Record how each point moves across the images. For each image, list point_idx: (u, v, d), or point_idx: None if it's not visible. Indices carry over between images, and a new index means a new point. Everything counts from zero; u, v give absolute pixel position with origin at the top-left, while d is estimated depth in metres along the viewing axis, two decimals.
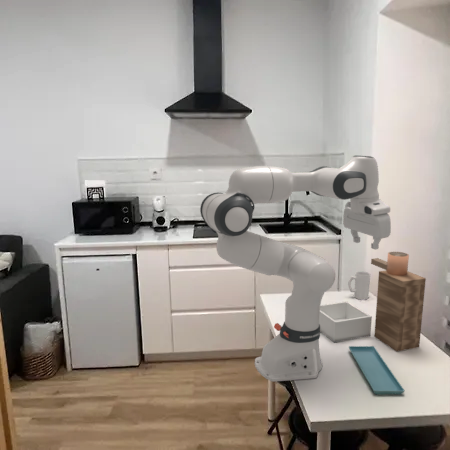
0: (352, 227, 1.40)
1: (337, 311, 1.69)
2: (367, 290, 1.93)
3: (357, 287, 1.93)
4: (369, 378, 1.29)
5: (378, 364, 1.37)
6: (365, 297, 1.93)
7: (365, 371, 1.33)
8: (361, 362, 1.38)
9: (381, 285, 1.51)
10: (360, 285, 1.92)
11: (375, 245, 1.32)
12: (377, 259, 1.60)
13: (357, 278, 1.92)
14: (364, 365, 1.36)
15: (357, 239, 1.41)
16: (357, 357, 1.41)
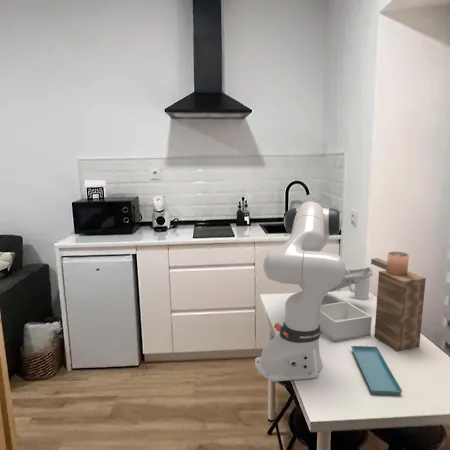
0: None
1: (337, 311, 1.69)
2: (367, 290, 1.93)
3: (357, 287, 1.93)
4: (368, 378, 1.29)
5: (379, 364, 1.36)
6: (365, 297, 1.93)
7: (365, 371, 1.33)
8: (362, 362, 1.38)
9: (381, 285, 1.51)
10: (360, 285, 1.92)
11: None
12: (377, 259, 1.60)
13: None
14: (365, 365, 1.36)
15: None
16: (359, 357, 1.41)
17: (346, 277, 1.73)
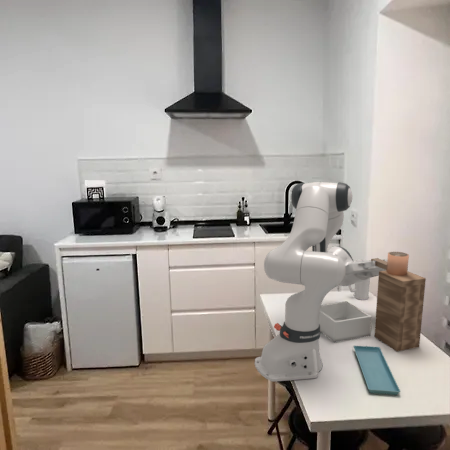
0: (360, 262, 1.62)
1: (337, 311, 1.69)
2: (367, 290, 1.93)
3: (357, 287, 1.93)
4: (368, 377, 1.29)
5: (380, 364, 1.36)
6: (365, 297, 1.93)
7: (365, 370, 1.33)
8: (363, 361, 1.38)
9: (381, 285, 1.51)
10: (360, 285, 1.92)
11: None
12: (377, 259, 1.60)
13: None
14: (366, 365, 1.36)
15: None
16: (360, 356, 1.41)
17: (365, 269, 1.61)
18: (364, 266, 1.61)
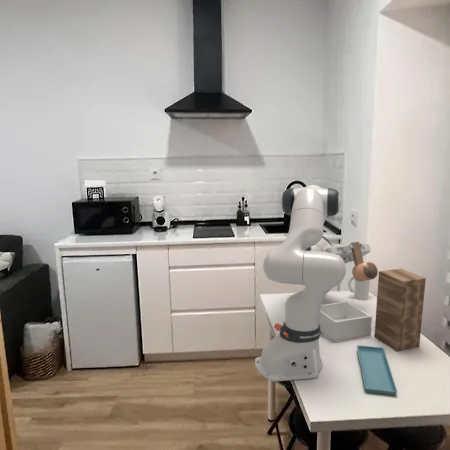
0: (339, 246, 1.72)
1: (337, 311, 1.69)
2: (367, 290, 1.93)
3: (357, 287, 1.93)
4: (367, 377, 1.30)
5: (382, 365, 1.36)
6: (365, 297, 1.93)
7: (365, 370, 1.33)
8: (365, 361, 1.38)
9: (381, 285, 1.51)
10: (360, 285, 1.92)
11: None
12: (357, 245, 1.68)
13: None
14: (367, 364, 1.37)
15: None
16: (363, 356, 1.41)
17: (343, 253, 1.70)
18: (342, 250, 1.70)
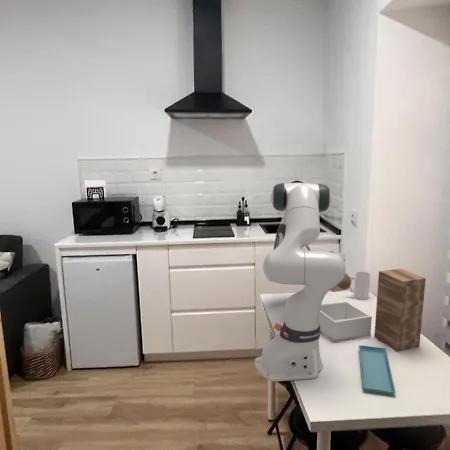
0: None
1: (337, 311, 1.69)
2: (367, 290, 1.93)
3: (357, 287, 1.93)
4: (366, 376, 1.30)
5: (383, 365, 1.36)
6: (365, 297, 1.93)
7: (366, 370, 1.33)
8: (366, 361, 1.38)
9: (381, 285, 1.51)
10: (360, 285, 1.92)
11: None
12: None
13: (357, 278, 1.92)
14: (368, 364, 1.37)
15: None
16: (364, 356, 1.42)
17: None
18: None
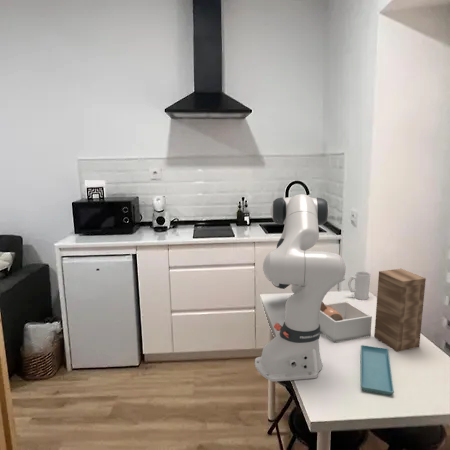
0: None
1: (337, 311, 1.69)
2: (367, 290, 1.93)
3: (357, 287, 1.93)
4: (366, 376, 1.30)
5: (384, 365, 1.36)
6: (365, 297, 1.93)
7: (366, 369, 1.34)
8: (367, 361, 1.39)
9: (381, 285, 1.51)
10: (360, 285, 1.92)
11: None
12: None
13: (357, 278, 1.92)
14: (368, 364, 1.37)
15: None
16: (366, 356, 1.42)
17: None
18: None
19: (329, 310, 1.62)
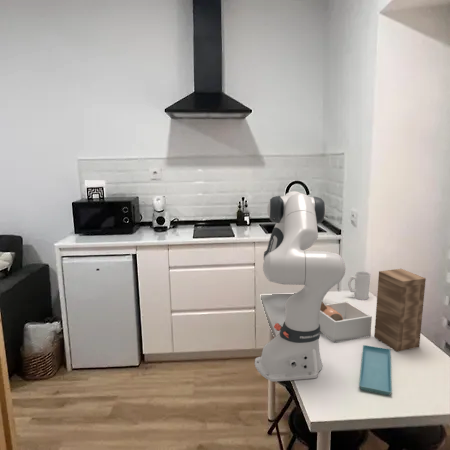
0: None
1: (337, 311, 1.69)
2: (367, 290, 1.93)
3: (357, 287, 1.93)
4: (365, 376, 1.30)
5: (385, 366, 1.36)
6: (365, 297, 1.93)
7: (366, 369, 1.34)
8: (368, 361, 1.39)
9: (381, 285, 1.51)
10: (360, 285, 1.92)
11: None
12: None
13: (357, 278, 1.92)
14: (369, 364, 1.37)
15: None
16: (367, 356, 1.42)
17: None
18: None
19: (329, 310, 1.62)
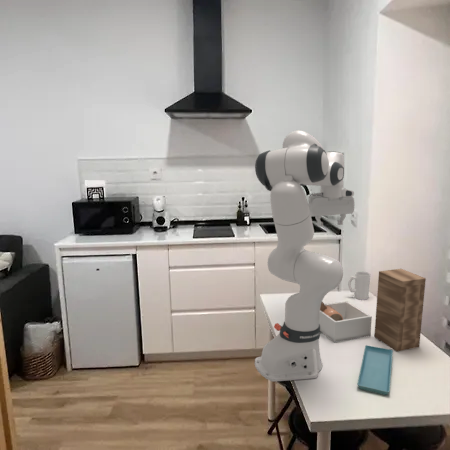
0: (323, 213, 1.65)
1: (337, 311, 1.69)
2: (367, 290, 1.93)
3: (357, 287, 1.93)
4: (365, 375, 1.30)
5: (386, 366, 1.35)
6: (365, 297, 1.93)
7: (366, 369, 1.34)
8: (369, 361, 1.39)
9: (381, 285, 1.51)
10: (360, 285, 1.92)
11: None
12: None
13: (357, 278, 1.92)
14: (370, 364, 1.37)
15: None
16: (369, 356, 1.42)
17: None
18: (316, 215, 1.67)
19: (329, 310, 1.62)
